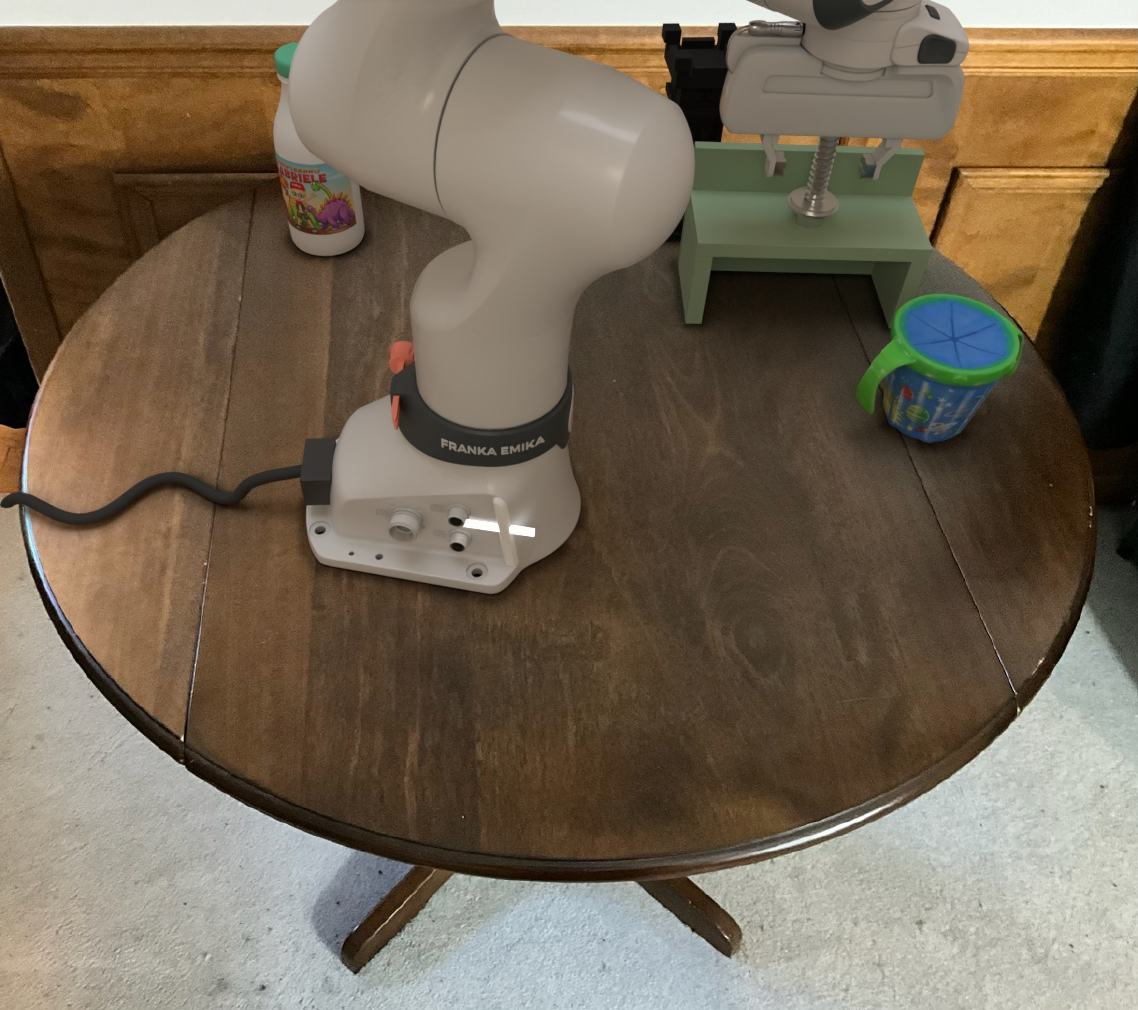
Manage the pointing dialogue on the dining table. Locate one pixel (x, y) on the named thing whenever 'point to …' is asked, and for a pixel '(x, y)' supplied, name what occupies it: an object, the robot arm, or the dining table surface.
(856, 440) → the dining table surface
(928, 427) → the snack cup
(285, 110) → the milk bottle
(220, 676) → the dining table surface
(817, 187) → the screw
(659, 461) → the dining table surface
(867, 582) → the dining table surface
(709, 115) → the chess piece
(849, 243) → the shelf
